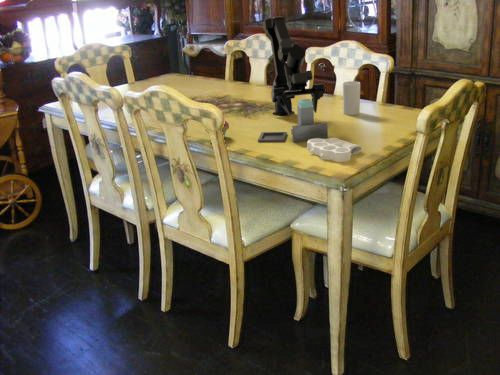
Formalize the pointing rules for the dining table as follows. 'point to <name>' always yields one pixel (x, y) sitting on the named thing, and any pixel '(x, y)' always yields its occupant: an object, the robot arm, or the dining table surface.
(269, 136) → the tray
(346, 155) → the white muffin tray
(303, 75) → the robot arm
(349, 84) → the mug
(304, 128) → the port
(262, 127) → the dining table surface
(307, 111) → the plug
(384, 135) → the dining table surface
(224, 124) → the cupcake
